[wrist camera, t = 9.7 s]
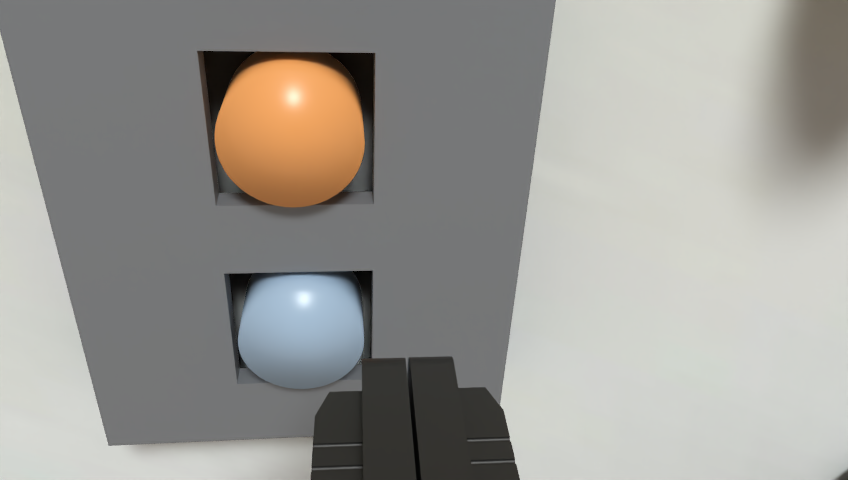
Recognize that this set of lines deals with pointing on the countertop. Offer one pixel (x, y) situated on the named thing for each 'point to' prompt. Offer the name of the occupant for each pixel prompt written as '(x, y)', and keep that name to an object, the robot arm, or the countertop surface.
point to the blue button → (302, 327)
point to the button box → (265, 223)
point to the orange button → (291, 128)
